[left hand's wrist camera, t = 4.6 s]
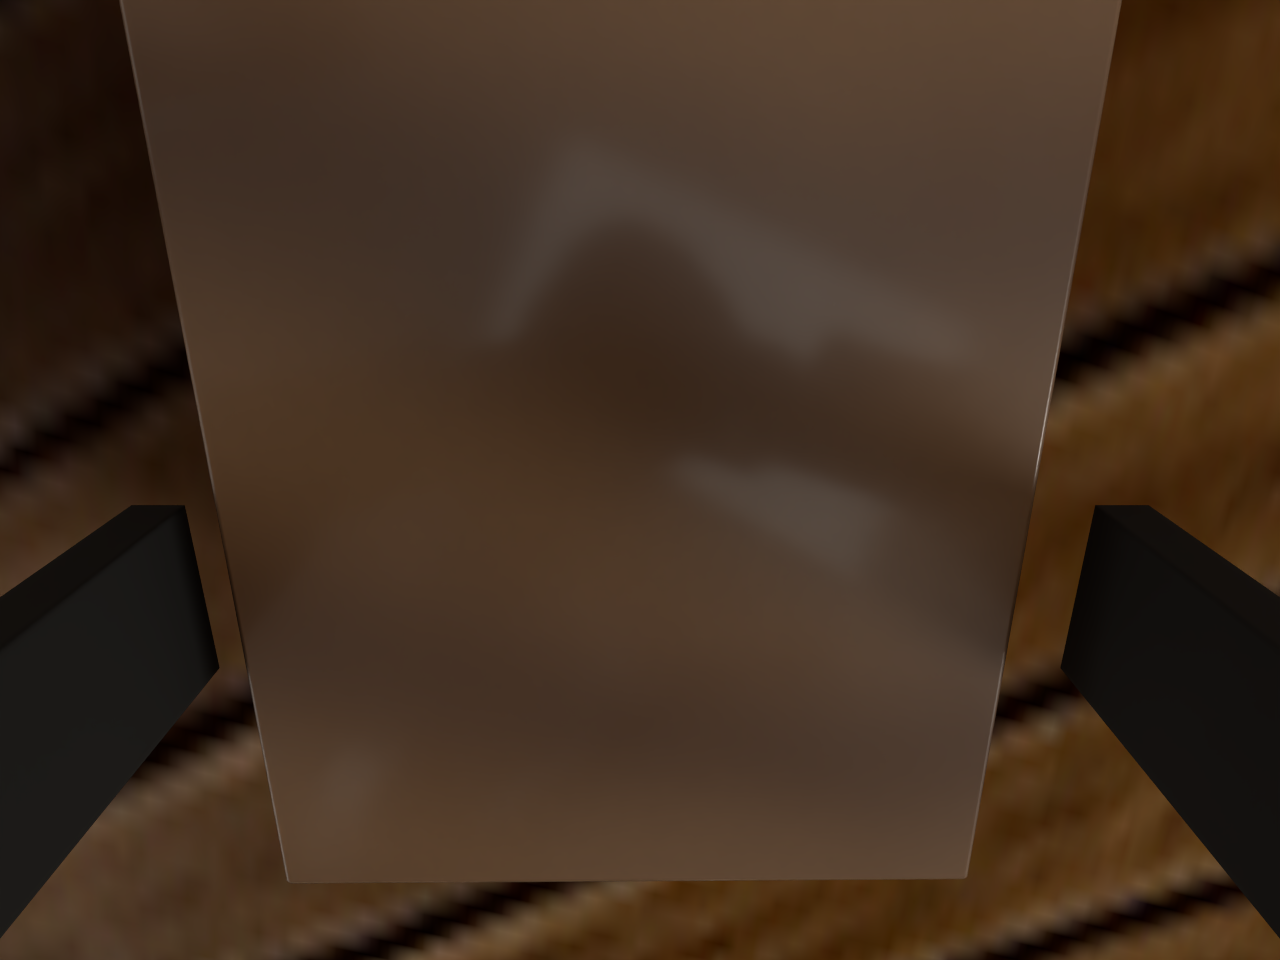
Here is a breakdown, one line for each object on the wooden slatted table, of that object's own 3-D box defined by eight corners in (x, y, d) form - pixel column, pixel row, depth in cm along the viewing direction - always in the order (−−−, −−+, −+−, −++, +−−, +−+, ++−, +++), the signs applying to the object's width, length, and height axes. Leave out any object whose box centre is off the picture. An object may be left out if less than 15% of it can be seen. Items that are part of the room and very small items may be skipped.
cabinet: (302, -493, 14) (-154, -1400, 6) (944, -490, 14) (1371, -1381, 6) (418, 610, 21) (285, 885, 13) (841, 608, 21) (968, 881, 13)
